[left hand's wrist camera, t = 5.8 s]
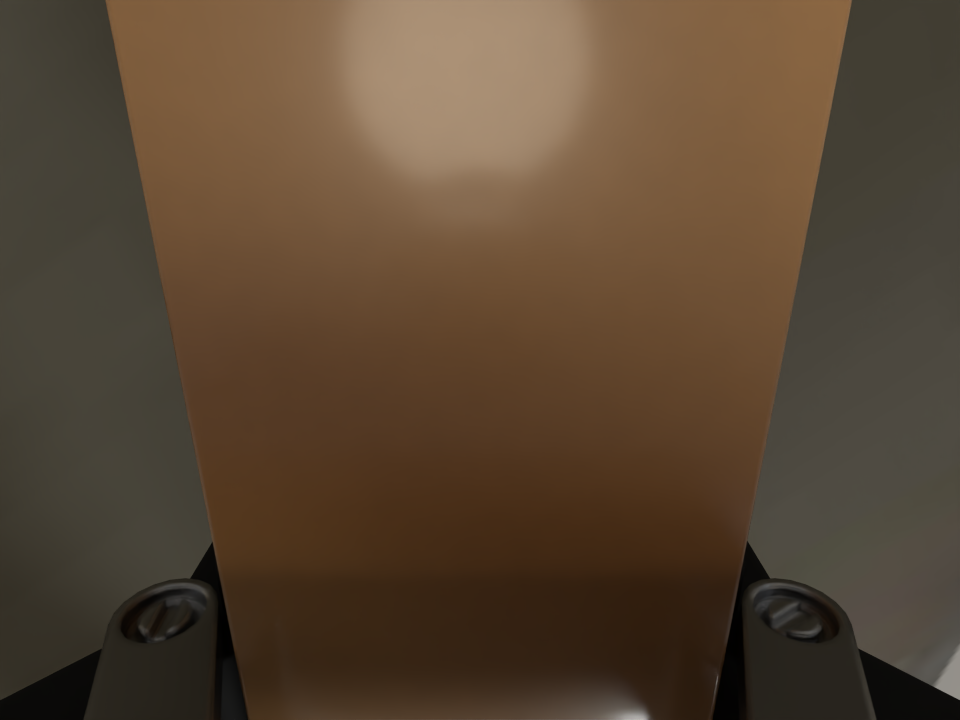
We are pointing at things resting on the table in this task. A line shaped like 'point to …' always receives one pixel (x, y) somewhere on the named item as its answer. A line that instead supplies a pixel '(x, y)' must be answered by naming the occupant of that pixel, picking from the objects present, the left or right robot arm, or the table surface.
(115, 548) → the table surface
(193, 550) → the table surface
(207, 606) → the left robot arm
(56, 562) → the table surface
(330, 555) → the bar
